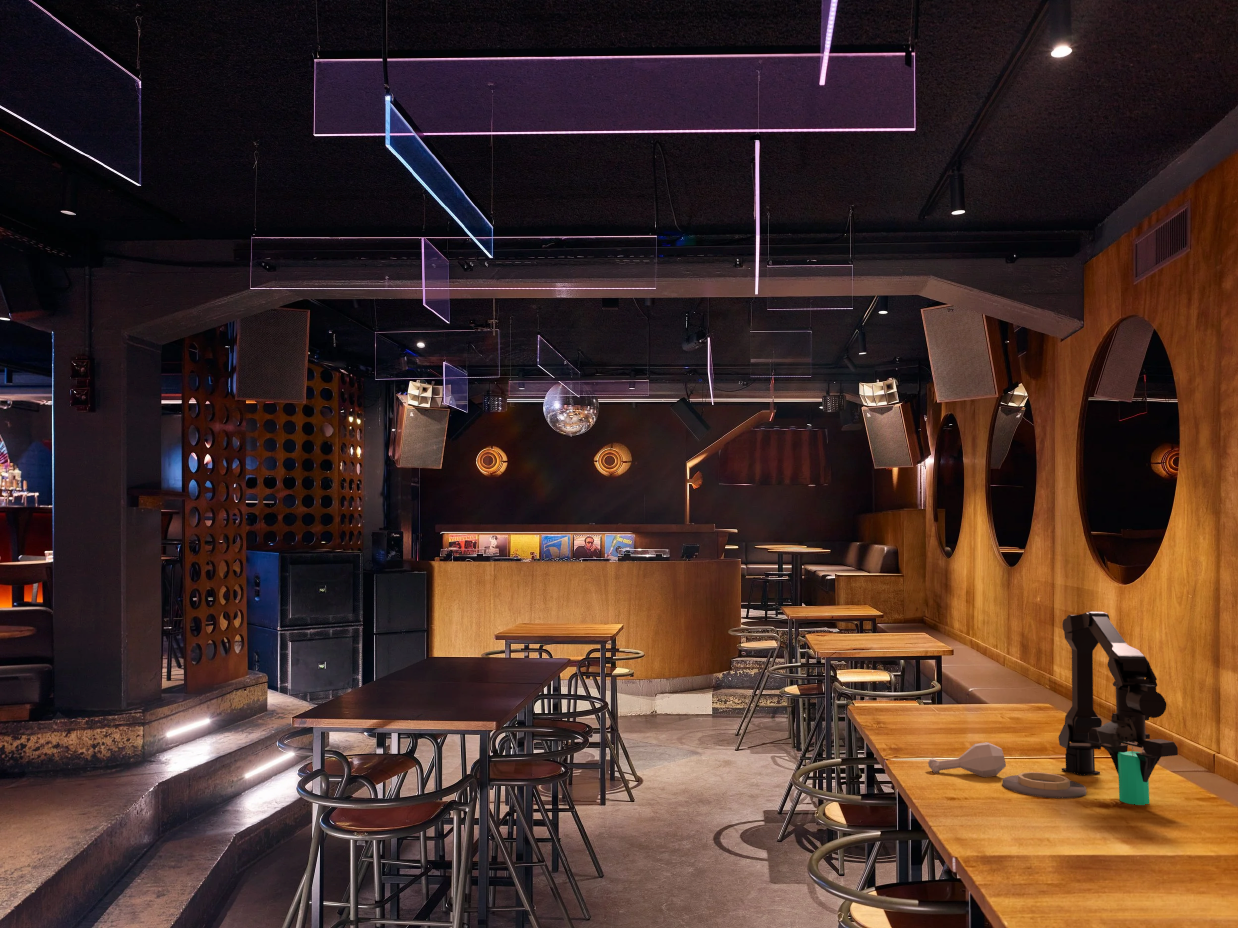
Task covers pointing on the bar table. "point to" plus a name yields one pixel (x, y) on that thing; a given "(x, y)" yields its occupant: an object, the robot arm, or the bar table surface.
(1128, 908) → the bar table surface
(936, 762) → the chicken leg
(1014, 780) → the candle holder
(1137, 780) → the candle
